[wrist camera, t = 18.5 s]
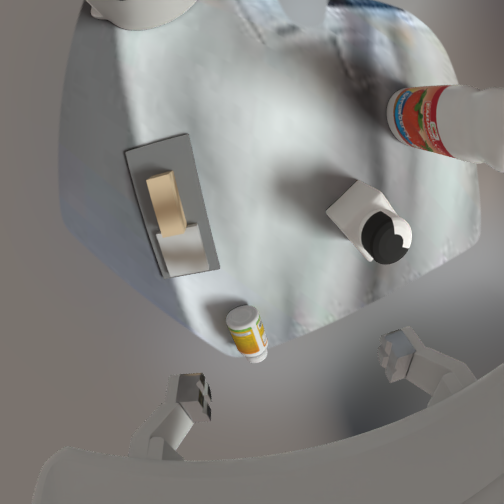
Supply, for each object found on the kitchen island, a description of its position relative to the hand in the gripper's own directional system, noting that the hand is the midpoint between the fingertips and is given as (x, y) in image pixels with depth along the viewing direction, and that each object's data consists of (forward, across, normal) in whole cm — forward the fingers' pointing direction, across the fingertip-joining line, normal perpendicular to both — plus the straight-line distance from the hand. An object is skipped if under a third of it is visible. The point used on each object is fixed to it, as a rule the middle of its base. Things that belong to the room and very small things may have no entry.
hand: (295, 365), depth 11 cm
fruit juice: (+29, -26, -9) cm, 40 cm away
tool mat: (+29, +11, 0) cm, 31 cm away
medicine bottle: (+29, -15, +5) cm, 33 cm away
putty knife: (+28, +11, +1) cm, 31 cm away
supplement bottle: (+26, +5, +17) cm, 32 cm away
